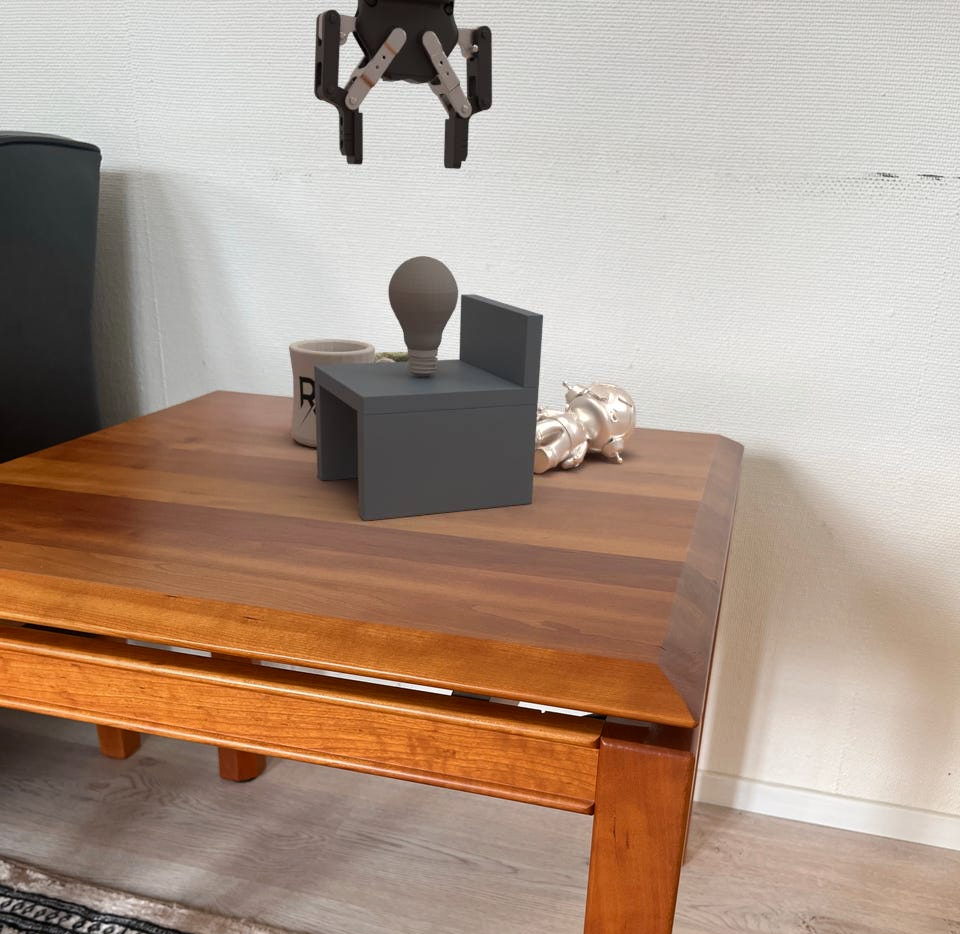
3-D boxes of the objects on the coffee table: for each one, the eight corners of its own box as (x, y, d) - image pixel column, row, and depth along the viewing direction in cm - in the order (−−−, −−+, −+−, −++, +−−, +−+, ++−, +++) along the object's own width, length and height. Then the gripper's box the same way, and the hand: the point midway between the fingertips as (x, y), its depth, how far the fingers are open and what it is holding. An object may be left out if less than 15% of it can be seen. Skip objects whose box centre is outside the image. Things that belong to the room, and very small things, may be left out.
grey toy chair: (363, 521, 86) (361, 319, 79) (317, 476, 98) (311, 296, 91) (531, 503, 93) (543, 315, 86) (469, 463, 104) (475, 294, 97)
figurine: (514, 389, 99) (614, 346, 107) (482, 430, 105) (579, 386, 113) (576, 478, 98) (672, 427, 106) (540, 514, 104) (634, 463, 112)
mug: (279, 447, 107) (275, 349, 103) (306, 427, 115) (303, 336, 111) (394, 456, 106) (395, 357, 101) (413, 435, 114) (414, 343, 109)
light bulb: (450, 369, 94) (453, 254, 90) (460, 382, 89) (464, 260, 84) (385, 369, 93) (385, 252, 89) (391, 382, 88) (391, 258, 83)
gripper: (473, -51, 83) (465, 169, 90) (301, -75, 77) (307, 162, 84) (513, -66, 77) (502, 171, 83) (329, -94, 71) (333, 163, 78)
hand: (404, 166), depth 84 cm, fingers open, 8 cm apart
